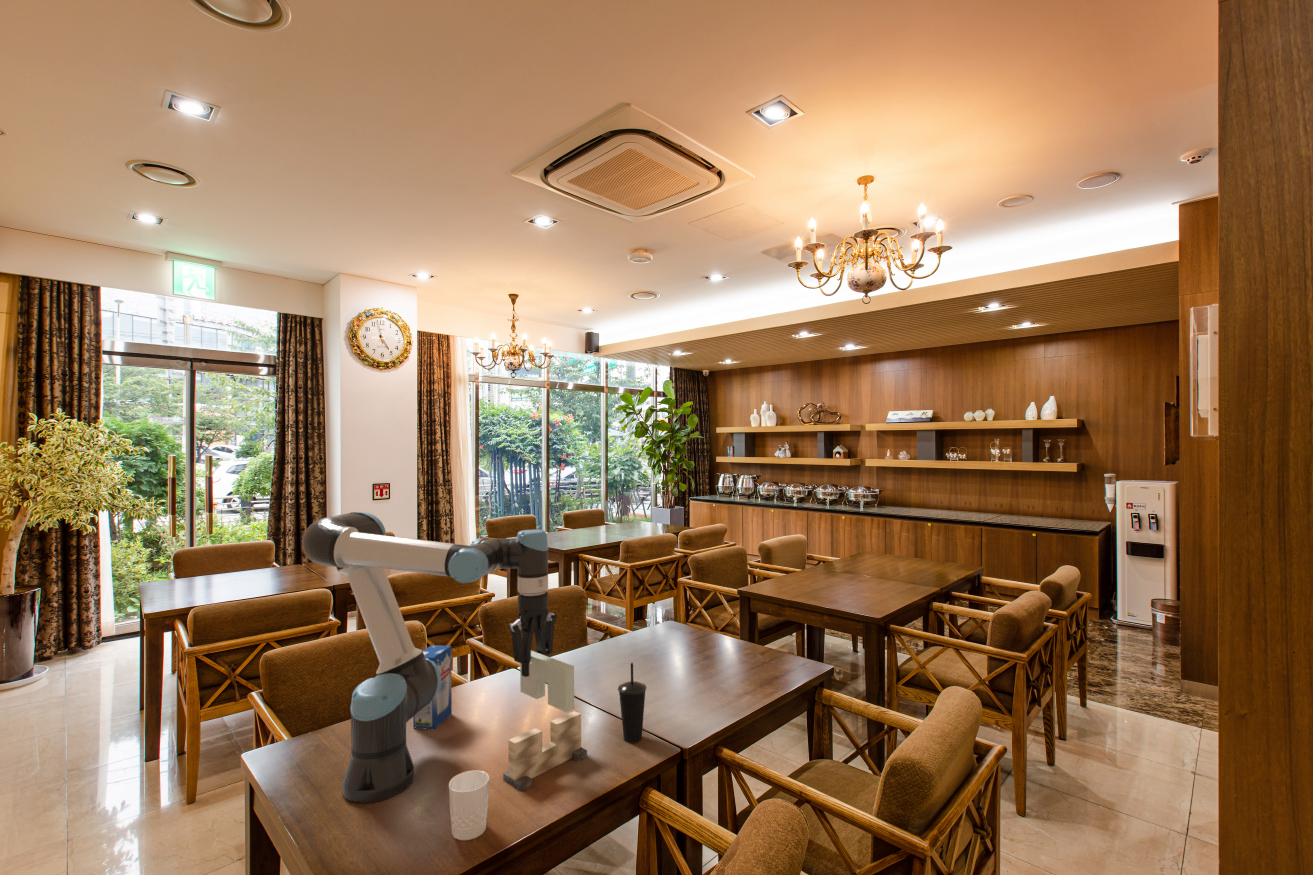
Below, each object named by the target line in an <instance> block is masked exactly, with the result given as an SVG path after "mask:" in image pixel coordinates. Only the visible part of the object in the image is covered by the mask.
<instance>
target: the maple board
mask: <svg viewBox="0 0 1313 875" xmlns="http://www.w3.org/2000/svg"><path fill="white" fill-rule="evenodd" d="M549 724H550V725H549V726H550V741H549V742H548V743H546V744H543V730H541V729H539V728H537V727H535V728H532V729H530V730H528V731H526V732H523V733H521V734H519V735H516V736H514V737H512V738H510V739H509V738H508V740H507V741H508V770H507V771H505V772H503V773H502V776H503V777H502V780H503V781H505V782H506V783H508V784H509V785H510V786H513V787H514V788H515V789H517V790H518V791H520V792H522V791H523V790H525V789H527V788H529V787H531V786H532V785H533V784H532V783H533V782H532V779H534V778H536V777H539V776H540V775H541V774H544V773H546V772H547V771H549V770H551V769H553V768H555V767H557V766H559V765H561V764H564V763H565V762H567V761H569V760H571V759H574V760H575V761H577V762H579V761H580V760H582V759H584V758H586V757H588V750H587V749H586V748H583V747H582V713H580V712H578V711H575V710H573V711H571V712H569V713H566V714H563V715H562V716H560V717H557V718H555V719H553V720H550V722H549Z"/></svg>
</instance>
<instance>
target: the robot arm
mask: <svg viewBox="0 0 1313 875" xmlns="http://www.w3.org/2000/svg"><path fill="white" fill-rule="evenodd" d="M386 533H387V531H386V527H385V526H384V524H383V522H382V521H381V520H380V519H379V518H378V517H377V516H376V515H374V514H373V513H370V512H364V511H363V512H362V511H361V512H360V511H359V512H358V511H353V512H348V513H343V514H339V515H333V516H327V517H323V518H322V517H321V518H320V519H317V520H315V521H314V522H312V524H311V523H310V525H309V526H308V527H307V528H306V529H305V531H304V533H303V535H302V539H301V547H302V551H303V553H304V555H305V556H306V558H307V559H308V560H309V561H310V562H312V563H313V564H316V565H319V566H326V567H334V568H335V567H336V570H337V572H338V573H339V574H342V575H345V577H346V578H347V580H348V582H349V585H350V588H351V590H352V593H353V597H354V598H355V601H356V604H357V606H358V609H359V611H360V615H361V617H362V620H363V622H364V625H365V627H366V628H365V629H366V630H367V634H368V636H369V638H370V641H371V644H372V646H373V649H374V651H375V654H376V656H377V659H378V662H379V665H378V668H377V669H376V672H375V673H376V676H374V677H370V678H367V679H365V680H364V681H362V682H360V683H359V684H358V685H357V686H356V687H355V689H354V690H353V692H352V695H351V703H350V710H349V711H350V726H351V727H350V730H351V732H350V738H351V739H350V742H351V743H350V744H351V746H350V747H351V748H350V750H351V756H350V760H349V761H348V762H349V763H348V764H347V768H346V771H345V774H344V778H343V782H342V796H343V795H344V796H343V797H344V799H346V798H347V799H348V800H347V799H346V800H347V801H349V800H350V801H349V802H352V801H354V802H353V803H357V802H364V804H367V802H368V803H374V802H379V801H383V800H386V799H389V798H392V797H394V796H397V795H398V794H400V793H402V792H403V791H405V790H406V789H408V788H409V787H410V785H411V784H413V782H414V780H415V766H414V765H415V764H414V762H413V759H412V757H411V754H410V751H409V748H408V745H407V723H408V722H409V721H410V720H411V719H413V716H415V715H416V714H417V713H418V712H419V711H420V710H421V709H423V708H425V707H426V706H427V705H428V704H429V703H430V702H431V701H432V699H433V698H434V697H435V696H436V694H437V693H438V691H439V688H440V684H441V674H440V671H439V668H438V666H437V665H436V664H435V663H434V662H433V661H430V659H428V658H425V656H424V653H423V650H422V649H419V648H417V647H415V645H414V643H413V640H412V638H411V635H410V632H409V630H408V628H407V626H406V623H405V620H404V618H403V617H404V616H403V615H402V611H401V609H400V607H399V603H398V602H397V599H396V596H395V593H394V591H393V589H392V586H391V583H390V581H389V578H388V576H387V573H386V570H385V569H387V570H395V571H403V572H412V573H418V574H419V573H420V574H427V575H434V576H442V577H443V576H444V577H449V578H450V577H451V578H453V579H454V581H456V582H458V583H461V584H468V583H472V582H476V581H479V580H481V579H482V578H483V577H484V576H486V575H488V574H490V573H492V572H494V571H495V570H498V569H500V570H501V569H514V570H515V569H517V592H518V595H517V608H518V615H517V619H516V620H515V621H514V622H510V623H508V628H509V631H510V634H511V643H512V651H513V660H514V662H516V663H521V664H522V676H524V688H526V689H529V690H533V663H532V662H530V657H531V651H532V645H533V636H534V641H535V650H536V652H537V653H540V654H542V655H545V656H548V657H549V655H550V654H551V655H552V653H553V646H554V634H555V633H554V632H555V623H556V620H557V617H558V615H557V614H556V613H552V612H549V610H548V607H549V592H548V590H549V544H548V543H549V542H548V534H547V532H546V531H545V530H542V529H523V530H520V531H518V532H517V536H516V537H515V538H501V537H500V538H499V537H498V538H495V537H494V538H493V537H492V538H491V537H485V538H482V537H481V538H475V539H473V541H471V543H470V544H469V545H468V544H467V545H466V544H457V543H449V542H442V541H436V540H433V541H432V540H428V539H427V540H425V539H418V538H417V539H416V538H410V537H409V538H408V537H402V536H401V537H400V536H392V535H387V534H386ZM413 779H414V780H413Z"/></svg>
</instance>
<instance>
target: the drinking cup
mask: <svg viewBox="0 0 1313 875" xmlns="http://www.w3.org/2000/svg"><path fill="white" fill-rule="evenodd" d="M617 691H618V694H619V702H620V703H619V705H620V713H621V724H622V726H621V727H622V734H623V740H624V742H626V743H629V744H636V743H638V742H641V741H642V739H643V729H644V728H643V726H644V711H645V700H646V691H647V685H646V684H644V683H643V682H639V681H634V662H631V663H630V681H629V680H628V681H626V682H623V683H621V684H619V685H618V687H617Z"/></svg>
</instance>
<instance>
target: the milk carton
mask: <svg viewBox="0 0 1313 875" xmlns="http://www.w3.org/2000/svg"><path fill="white" fill-rule="evenodd" d="M422 651H423V653H424V656H425V658H428V659H430V661H433V662H434V663H435V664H436V665H437V666H438V668H439V671H440V674H441V684H440V688H439V691H438V693H437V694H436V696H435V697H434V698H433V699H432V701H431V702H430V703H429V704H428V705H427V706H426V707H425V708H423V709H421V710H420V711H419V712H418V713H417V714H416V715H415V716H413V717H412V719H413V722H412V723H413V724H412V725H413V726H412V727H416V728H426V729H425V730H430V729H434V730H435V729H436V728H438V727H439V726H440V725H441V724H442V723H443V722H444V721H445V720H447V719H448V718H449V717H450V716H451V715H452V712H453V711H452V709H453V708H452V703H453V702H452V695H453V694H452V692H453V691H452V645H439V644H438V645H436V644H431V645H430V646H428V647H426V648H425V649H423V650H422ZM448 716H449V717H448ZM447 717H448V718H447ZM446 718H447V719H446ZM440 723H441V724H440ZM439 724H440V725H439ZM438 725H439V726H438ZM437 726H438V727H437ZM416 728H415V729H416Z"/></svg>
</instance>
